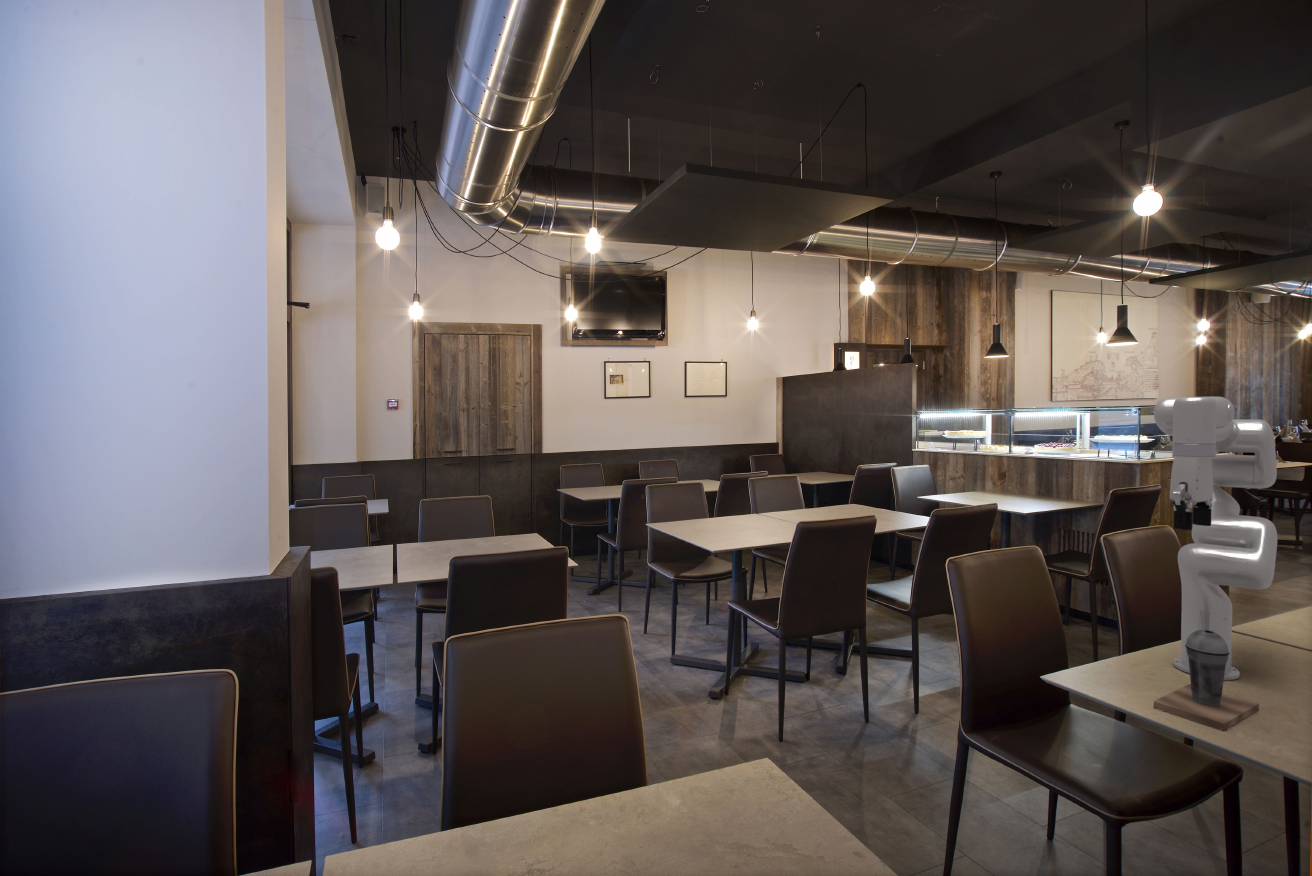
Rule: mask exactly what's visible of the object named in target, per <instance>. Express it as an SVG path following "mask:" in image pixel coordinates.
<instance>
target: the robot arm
mask: <svg viewBox="0 0 1312 876" xmlns="http://www.w3.org/2000/svg"><path fill="white" fill-rule="evenodd" d="M1153 409H1154V410H1153V418H1154V422H1155V424H1156V426H1157V428H1159V430H1160V431H1161V432H1163V433H1164V434H1166V435H1168V436H1172V447H1171V448H1172V453H1171V454H1172V455H1171V456H1172V457H1171V458H1173V462H1172V468H1171V473H1170V475H1171V476H1170V487H1169V489H1170V490H1169V499H1170V500H1171V501H1172V504H1173V528H1174V529H1176V530H1185V531H1191V539H1192V541H1193V543H1188V544H1185V545H1183V546H1181V548H1180V549H1179V550H1178V553H1177V564H1178V570H1179V576H1180V583H1181V622H1180V623H1181V627H1180V629H1181V630H1180V631H1181V632H1180V637H1181V638H1180V643H1181V644H1180V656H1177V657H1174V658H1173V660H1172V665H1173V666H1174V667H1175V668H1176V669H1177V670H1180V671H1183V672H1185V673H1188V674H1190V670H1189V659H1188V656H1187V651H1186V647H1185V645H1186V641H1187V638H1188V637H1189V635H1190V634H1192V633H1193V632H1195V631H1198V630H1202V625H1201V617H1200V610H1203V617H1204V625H1205V630H1209V631H1213V632H1215V633H1217V634H1218V635H1220V636H1221V637H1222V638H1223V639H1224V640H1225V642H1226V644H1227V646H1228V651H1229V655H1228V660H1227V663H1226V667H1225V674H1224V681H1234V680H1237V679H1239V678H1240V677H1241V675H1240V674H1241V672H1240V670H1239V669H1237V668H1236V667H1234V666H1232V657H1233V653H1232V651H1233V650H1232V646H1233V645H1232V644H1233V641H1232V640H1233V636H1232V635H1233V604H1232V601H1231V599H1230V597H1229V596H1228V594H1227V593H1226V592H1225V591H1224V589H1222V587H1220V586H1228V587H1234V588H1241V589H1250V590H1257V591H1258V590H1265V589H1268V588H1270V586H1271V585H1272V584H1273V580H1274V576H1275V567H1276V559H1277V549H1278V532H1277V528H1276V526H1275V524H1274V523H1273V522H1272V521H1271V520H1269V519H1267V518H1266V517H1261V516H1251V515H1240V512H1241V507H1240V504H1239V503H1238V501H1237V500H1236V499H1235V498H1234V497H1233V496H1232V495H1230V493H1228V492H1226V491H1225V490H1224V489H1222V488H1221V487H1224V488H1225V487H1226V488H1247V489H1267V488H1270V487H1272V486H1273V485H1274V484H1275V483H1276V481H1277V476H1278V475H1277V474H1278V470H1277V469H1278V468H1277V458H1276V456H1277V455H1276V443H1275V442H1276V441H1275V435H1274V431H1273V429H1272V427H1271V425H1270V423H1268V421H1266V420H1263V419H1254V418H1253V419H1251V418H1250V419H1249V418H1248V419H1247V418H1246V419H1235V414H1236V413H1235V412H1236V411H1235V405H1234V404H1233V403H1232V402H1231V401H1230V400H1229V399H1228V398H1226V397H1223V396H1177V397H1165V398H1161V399H1160V400H1159V401H1157V403H1156V404H1155V406H1154V407H1153ZM1217 453H1254V455H1242V454H1217ZM1193 505H1194V507H1193ZM1191 510H1192V511H1191Z"/></svg>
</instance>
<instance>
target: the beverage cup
mask: <svg viewBox="0 0 1312 876" xmlns="http://www.w3.org/2000/svg"><path fill="white" fill-rule="evenodd" d="M1200 617H1201V625H1202V630H1198V631H1195V632H1193V633H1192V634H1190V635H1189V637H1188V638H1187V641H1186V645H1185V647H1186V651H1187V656H1188V659H1189V670H1190V673H1189V677H1190V684H1191V692H1192V697H1193V701H1195V702H1196V703H1199V704H1202V705H1206V706H1212V707H1218V706H1220V701H1221V697H1222V693H1223V690H1224V689H1223V688H1224V681H1225V680H1224V674H1225V667H1226V663H1227V660H1228V655H1229V651H1228V646H1227V644H1226V642H1225V640H1224V639H1223V638H1222V637H1221V636H1220V635H1218V634H1217V633H1215V632H1213V631H1209V630H1205V625H1204V617H1203V610H1200Z"/></svg>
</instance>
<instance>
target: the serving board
mask: <svg viewBox="0 0 1312 876" xmlns="http://www.w3.org/2000/svg"><path fill="white" fill-rule="evenodd" d="M1155 708H1156V710H1158V709H1159V711H1161V710H1163V711H1162V712H1164V711H1167V712H1170V713H1172V714H1171V715H1173V714H1174V716H1177V717H1179V718H1183V719H1187V720H1189V721H1192V722H1194V723H1195V722H1196V723H1198V724H1201V725H1205V726H1208V727H1211V728H1213V729H1216V728H1217V729H1216V730H1219V729H1221V730H1220V731H1222V730H1224V731H1223V732H1225V730H1226V729H1227V730H1229V729H1230V728H1233V725H1234V726H1235V725H1237V724H1238V723H1241V722H1242V721H1244V720H1245V719H1247V718H1248V717H1250V716H1251V715H1253V714H1255V713H1256V712H1258V711H1259V710H1260V703H1259V702H1255V701H1252V700H1248V699H1245V698H1241V697H1239V696H1235V695H1231V694H1228V693H1224V692H1222V697H1221V701H1220V706H1218V707H1212V706H1206V705H1202V704H1199V703H1196V702H1195V701H1193V697H1192V692H1191V683H1189V684H1187V685H1185V686H1182V687H1180V688H1178V689H1176V690H1174V691H1171V692H1169V693H1168V694H1166V695H1164V696H1161V697H1159V698H1158V699H1155V700H1153V709H1155ZM1167 712H1166V713H1167ZM1170 713H1169V714H1170ZM1228 728H1229V729H1228ZM1227 730H1226V731H1227Z"/></svg>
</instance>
